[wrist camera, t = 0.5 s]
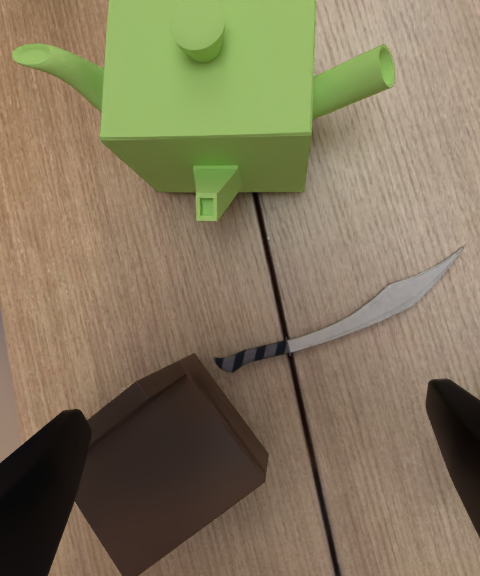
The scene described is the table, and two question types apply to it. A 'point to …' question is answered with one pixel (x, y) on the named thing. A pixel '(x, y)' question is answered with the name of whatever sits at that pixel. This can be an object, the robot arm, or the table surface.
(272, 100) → the kettle
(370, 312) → the knife
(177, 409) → the brown toy chair
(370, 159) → the table surface
